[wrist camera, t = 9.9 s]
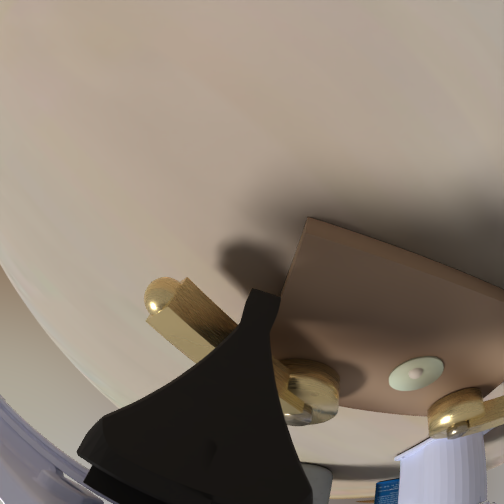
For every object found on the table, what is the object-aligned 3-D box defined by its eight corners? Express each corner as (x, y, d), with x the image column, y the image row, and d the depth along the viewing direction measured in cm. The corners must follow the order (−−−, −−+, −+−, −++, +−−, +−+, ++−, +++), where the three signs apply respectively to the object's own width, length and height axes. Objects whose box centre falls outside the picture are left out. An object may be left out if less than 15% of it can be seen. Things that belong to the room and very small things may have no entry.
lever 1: (353, 387, 13) (351, 426, 11) (292, 404, 15) (285, 437, 13) (199, 234, 10) (169, 273, 8) (145, 281, 12) (117, 316, 10)
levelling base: (456, 404, 14) (458, 422, 13) (252, 367, 16) (245, 391, 14) (547, 310, 8) (558, 330, 7) (307, 216, 10) (304, 240, 8)
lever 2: (421, 421, 14) (422, 450, 12) (436, 394, 12) (440, 428, 10) (532, 390, 10) (538, 413, 8) (555, 359, 8) (564, 384, 7)
